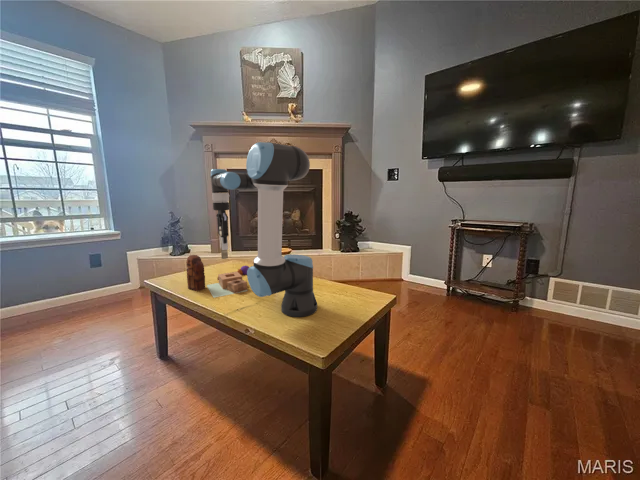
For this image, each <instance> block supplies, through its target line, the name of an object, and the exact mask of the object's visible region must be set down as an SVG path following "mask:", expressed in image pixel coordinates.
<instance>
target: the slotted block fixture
mask: <svg viewBox="0 0 640 480" xmlns="http://www.w3.org/2000/svg"><path fill="white" fill-rule="evenodd" d="M217 278H218V279H219V280H218V279H217V280H218V282H217V283H211V284H206V287H207V289H208V291H209V292H210V294H211V296H212V298H214V299H215V298H219V297H224V296H225V297H226V296H229V295H234V294H239V293H244V292H248V289H247V290H244V291H241V292H237V293H233V292H231V291H229V290H227V282H229V281H233V280H237V279H241V280H243V275H240V274H239V273H238V272H237V271H231V272H224V273H219V274H217Z"/></svg>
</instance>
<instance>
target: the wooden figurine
mask: <svg viewBox="0 0 640 480" xmlns="http://www.w3.org/2000/svg"><path fill="white" fill-rule="evenodd" d="M186 267H187V268H186V280H187V281H186V282H187V289H188V290H192V291H194V292H201V291H203V290H205V289H206V275H205V274H206V273H205V267H204V263H203V261H202V258H201V257H200V256H199V255H197V254H191V255H189V256H187V258H186Z"/></svg>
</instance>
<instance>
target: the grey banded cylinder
mask: <svg viewBox="0 0 640 480" xmlns="http://www.w3.org/2000/svg"><path fill="white" fill-rule="evenodd" d="M219 228H220V229H219V230H220V236H222V232H221V227H219ZM220 236H219V244H220V243H221V249H220V254H221V256H220V257H221V259H222V260H223V259H225V260H226V259H228V258H229V255H228V250H222V240H221V237H220Z"/></svg>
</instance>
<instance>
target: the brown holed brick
mask: <svg viewBox="0 0 640 480" xmlns="http://www.w3.org/2000/svg"><path fill="white" fill-rule="evenodd" d="M227 290H229V291H231V292H233V293H235V294H238V293H237V292H240V293H242V292H241V291H244V290H248V281H246V280H243V279H242V280H241V279H237V280H233V281H229V282H227Z"/></svg>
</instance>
